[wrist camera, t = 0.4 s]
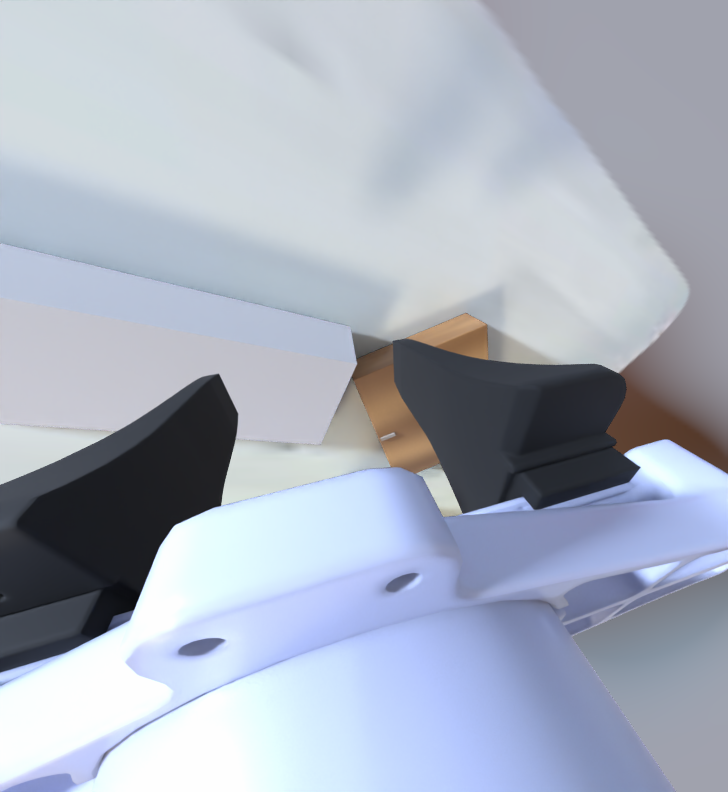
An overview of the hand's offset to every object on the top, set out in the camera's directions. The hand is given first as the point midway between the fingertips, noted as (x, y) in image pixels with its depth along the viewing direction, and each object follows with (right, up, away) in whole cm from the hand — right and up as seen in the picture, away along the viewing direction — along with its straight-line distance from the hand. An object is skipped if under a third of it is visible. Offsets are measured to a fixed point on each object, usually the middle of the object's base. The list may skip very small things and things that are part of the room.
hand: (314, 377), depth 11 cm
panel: (+8, -1, +15) cm, 17 cm away
